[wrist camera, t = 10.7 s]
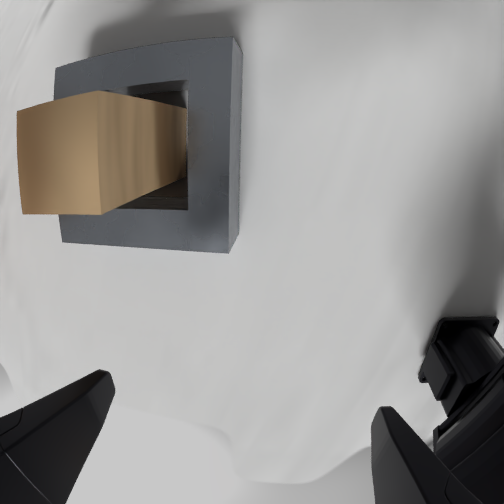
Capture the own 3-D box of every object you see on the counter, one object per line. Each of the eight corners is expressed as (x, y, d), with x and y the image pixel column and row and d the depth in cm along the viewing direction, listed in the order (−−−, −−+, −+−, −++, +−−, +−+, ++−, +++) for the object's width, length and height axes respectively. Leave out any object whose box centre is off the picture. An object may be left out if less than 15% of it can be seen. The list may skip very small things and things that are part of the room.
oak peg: (186, 108, 18) (98, 90, 9) (186, 176, 19) (101, 214, 10) (125, 113, 18) (16, 111, 9) (126, 177, 20) (22, 214, 11)
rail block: (242, 53, 16) (233, 36, 13) (238, 234, 20) (228, 253, 17) (85, 73, 17) (55, 68, 14) (89, 227, 21) (62, 242, 18)
